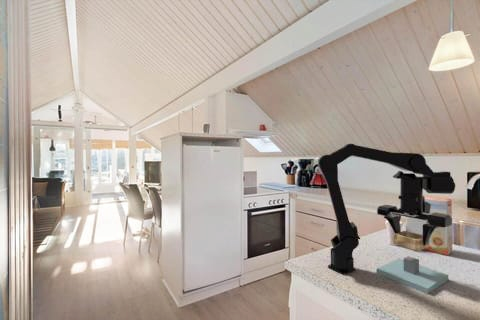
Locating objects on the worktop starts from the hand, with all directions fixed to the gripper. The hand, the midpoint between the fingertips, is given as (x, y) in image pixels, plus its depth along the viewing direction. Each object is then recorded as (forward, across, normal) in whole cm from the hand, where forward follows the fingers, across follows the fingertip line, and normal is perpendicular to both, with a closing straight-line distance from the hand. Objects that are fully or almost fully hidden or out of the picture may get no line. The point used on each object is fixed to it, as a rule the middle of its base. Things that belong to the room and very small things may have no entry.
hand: (411, 241), depth 75 cm
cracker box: (+11, +6, -30) cm, 32 cm away
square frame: (+1, 0, 0) cm, 1 cm away
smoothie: (+11, +16, -24) cm, 31 cm away
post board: (+11, 0, +1) cm, 11 cm away
